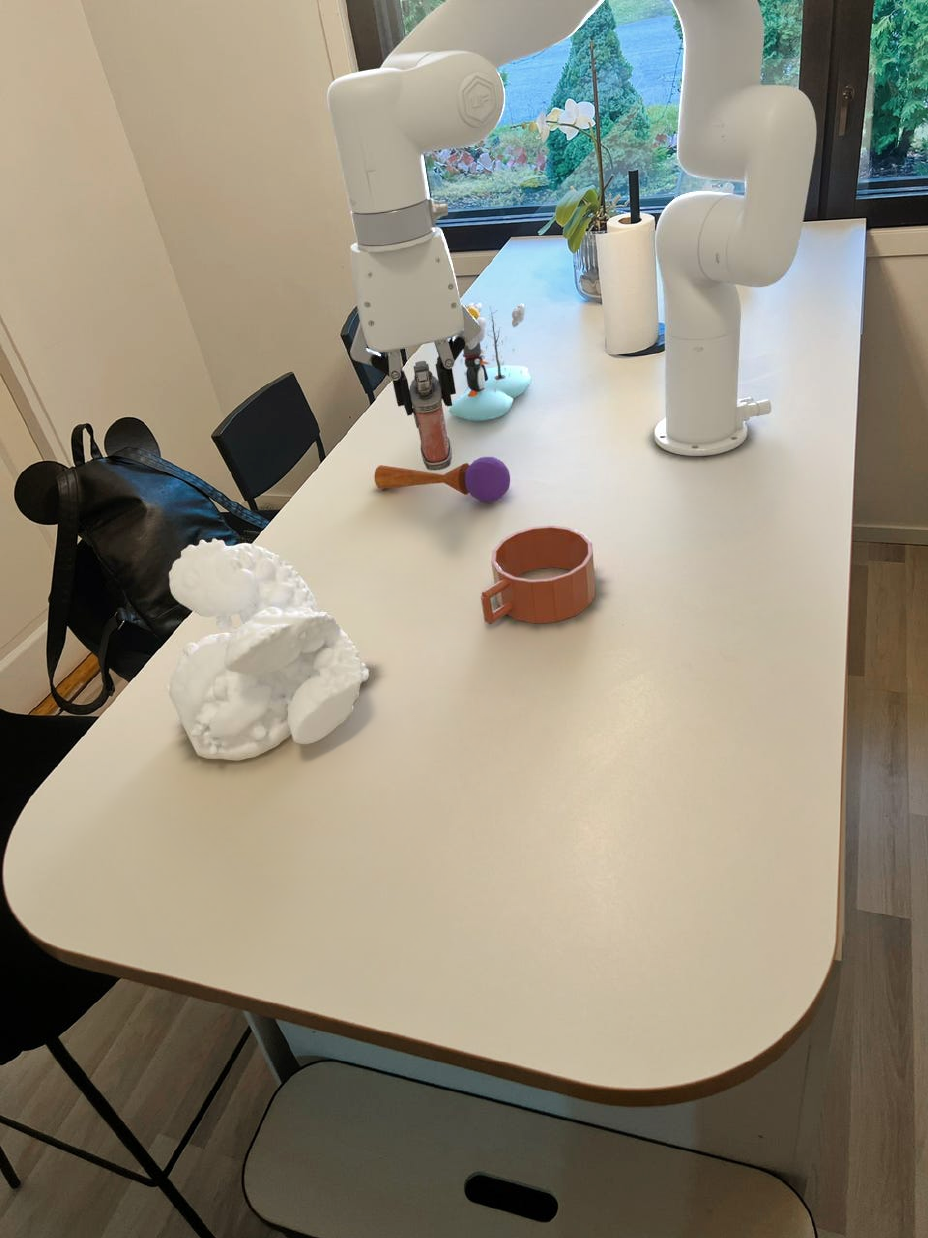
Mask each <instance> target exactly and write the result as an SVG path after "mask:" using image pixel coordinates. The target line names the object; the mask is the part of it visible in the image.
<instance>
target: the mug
mask: <svg viewBox="0 0 928 1238" xmlns="http://www.w3.org/2000/svg"><path fill="white" fill-rule="evenodd" d="M593 551H594V549H593V543H592V541H591V540H590V539H589V538H588V537H587V536H586V534H584V533H583V532H580V531H578V530H576V529H573V528H571V527H565V526H558V525H540V526H531V527H527V528H525V529H522V530H521V529H520V530H518V531H514V532H513V533H512V534H510V535H507V536H506V537H504V538H503V539H501V540H500V541H499V542H498V544H497V545H496V546H495V547H494V549H493V550H492V552H491V568H492V576H493V582H494V584H493V585H491V586H489V587H488V588H486V589H484V590H483V591H482V592H481V595H480V602H481V607H482V613H483V620H484V622H486V623H488V624H489V625H491V624H493V623H495V622H496V621H498V620H499V619H502V618H503V617H504V616H506V615H508V616H509V617H511V618H513V619H515V620H516V621H521V622H525V623H531V624H548V623H549V624H550V623H557V622H561V621H564V620H568V619H570V618H573V617H575V616H578V615H579V614H580V613H581V612H583V611H584V610H586V609H588V608H589V607H590V605H591V604H592V602H593V600H594V599H595V597H596V595H597V593H596V592H597V591H596V579H595V578H596V577H595V565H594V563H595V562H594V552H593ZM551 568H556V569H562V570H568V571H569V572H567V573H563V574H560V575H558V576H554V577H550V578H539V579H538V578H537V579H530V578H524V577H519V576H521V575H522V574H527V573H528V572H532V571H535V570H539V569H540V570H541V569H551ZM493 597H496V601H497V604H498V606H499V607H498V608H496V609H495V610H493V607H492V598H493Z"/></svg>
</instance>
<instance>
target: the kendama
mask: <svg viewBox="0 0 928 1238" xmlns="http://www.w3.org/2000/svg"><path fill="white" fill-rule="evenodd" d="M373 476H374V483H375V485H376V487H377V488H378V489H380V490H385V489H395V488H403V487H404V488H405V487H413V486H414V487H415V486H424V485H434V484H445V485H447V486H448V487H450V488H452V489H453V490H455V491H458V492H459V493H461V494H462V495H465V496H467V495H470V496H471V497H472V498H474V499H475V500H478V501H479V502H482V503H493V502H496V501H498V500H500V499H502V498H503V497H504V496H505V494H506V493H507V492H508V491H509V488H510V485H511V473H510V469H508V467H507V466H506V464H505V463H504V462H503V461H502V460H500V459H498V458H496V457H494V456H482V457H478V458H477V459H475V460H473V462H472V463H470V464H469V463H468V462H465V463H463V464H461V465H459V466H457V467H455V468H453V469H451V470H449V471H447V472H445V473H436V472H429V471H423V470H416V469H409V468H403V467H396V466H389V465H382V464H381V465H378V466H377V467H376V469H375V470H374V475H373Z"/></svg>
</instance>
